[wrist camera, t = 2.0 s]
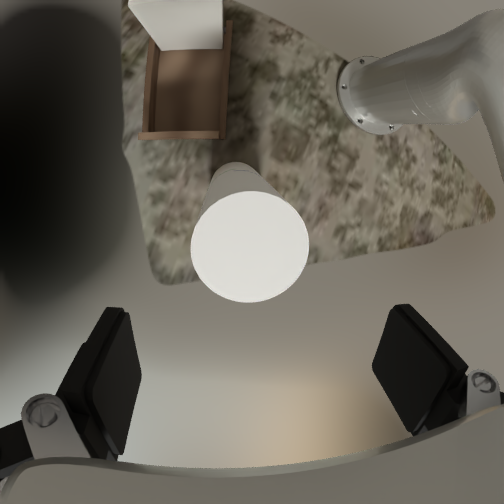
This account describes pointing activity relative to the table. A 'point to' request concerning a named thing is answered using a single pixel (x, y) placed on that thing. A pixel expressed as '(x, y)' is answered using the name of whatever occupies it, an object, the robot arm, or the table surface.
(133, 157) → the table surface
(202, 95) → the brown wooden tray
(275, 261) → the cylindrical container
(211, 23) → the block
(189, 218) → the table surface
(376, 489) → the robot arm
